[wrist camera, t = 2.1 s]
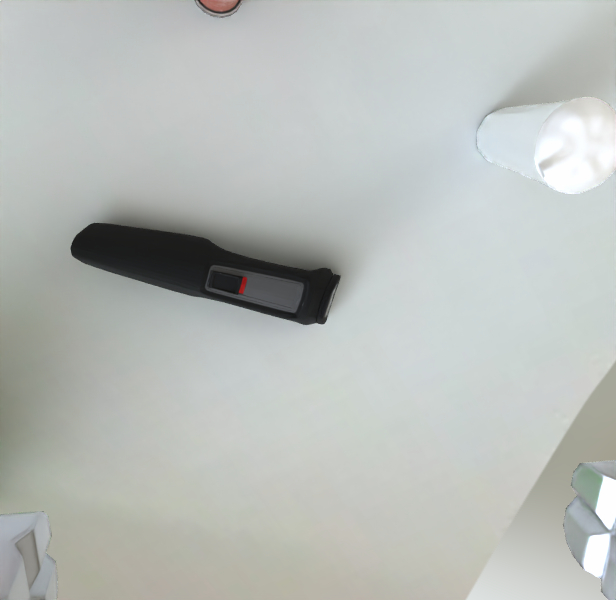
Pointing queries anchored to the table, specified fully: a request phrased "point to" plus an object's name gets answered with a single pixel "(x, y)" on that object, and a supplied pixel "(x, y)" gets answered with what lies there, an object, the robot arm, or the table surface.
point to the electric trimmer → (207, 271)
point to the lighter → (219, 7)
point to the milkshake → (553, 142)
